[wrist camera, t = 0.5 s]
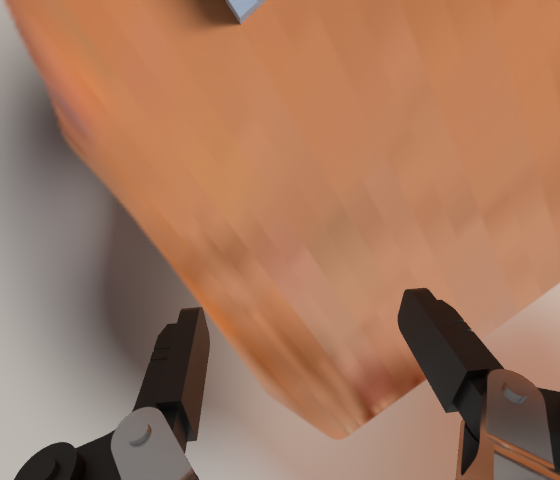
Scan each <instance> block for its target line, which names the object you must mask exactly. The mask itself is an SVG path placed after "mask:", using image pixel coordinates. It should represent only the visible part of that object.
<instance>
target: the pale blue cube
mask: <svg viewBox="0 0 560 480" xmlns="http://www.w3.org/2000/svg"><path fill="white" fill-rule="evenodd" d="M225 1H226V3H227V4H228V6H229V8H230V9H231V11H232V12H233V14H234V15H235V17H236V18H237V20H238V21H239V23H240V24H242V23H243V22H244V21H245V20H246V19H247V18H248V17H249V16H250V15H251V14H252V13H253V12H254V11H255V10H256V9H257V8H258V7H260V6H261V5H262V4H263V3H264V2H265V1H266V0H225Z"/></svg>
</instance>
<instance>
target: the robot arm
mask: <svg viewBox="0 0 560 480" xmlns="http://www.w3.org/2000/svg"><path fill="white" fill-rule="evenodd" d="M398 326H399V329H400V331H401V333H402V335H403V337H404V339H405V341H406V342H407V344H408V346H409V348H410V349H411V351H412V353H413V355H414V357H415V358H416V360H417V362H418V364H419V366H420V367H421V369H422V371H423V373H424V374H425V376H426V378H427V380H428V382H429V383H430V385H431V387H432V389H433V391H434V392H435V394H436V396H437V398H438V399H439V401H440V403H441V405H442V407H443V408H444V410H445V412H446V413H449V412H457V411H459V413H460V414H461V416H462V418H463V420H462V421H461V427H460V439H459V449H458V460H457V470H456V479H455V480H560V392H557V391H552V390H547V389H541V388H537V387H536V386H535V385H534V384H533V383H532V382H530V381H529V380H528V379H526V378H525V377H523V376H522V375H520V374H518V373H516V372H513V371H509V370H506V369H504V368H503V367H502V365H501V364H500V363H499V362H498V361H497V359H496V358H495V357H494V356H493V355H492V353H491V352H490V351H489V350H488V349H487V348H486V346H485V345H484V344H483V343H482V341H481V340H480V339H479V338H478V337H477V335H476V334H475V333H474V332H472V331H471V328H470V327H469V326H468V325H467V323H466V322H464V320H463V318H462V317H461V316H460V315H459V314H458V312H457V311H456V310H455V309H454V308H453V307H451V306H450V305H448V304H447V303H445V302H444V301H443V300H436V298H435V297H434V296H433V294H432V293H431V292H430V291H429V290H428V289H427V288H417V289H407V290H405V291H404V294H403V298H402V302H401V306H400V310H399V313H398ZM209 348H210V340H209V332H208V328H207V324H206V320H205V315H204V311H203V308H202V307H197V308H185V309H181V311H180V314H179V318H178V322H177V323H175V324H167V325H166V327H165V328H164V329H163V330H162V332H161V333H160V334H159V335H158V338H157V341H156V344H155V347H154V352H153V353H152V356H151V359H150V363H149V365H148V368H147V371H146V374H145V377H144V380H143V383H142V386H141V389H140V392H139V395H138V398H137V401H136V404H135V406H134V409H133V411H132V413H130V414H129V415H128V416H126V417H125V418H124V419H123V420H122V421H121V423H120V424H119V425H118V427H117V428H116V429H115V430H114V431H112V432H111V433H109V434H107V435H105V436H103V437H101V438H98V439H96V440H94V441H91V442H89V443H87V444H85V445H82V446H80V447H78V448H74V447H73V446H72V445H71V444H69V443H66V442H59V443H55V444H52V445H49V446H47V447H45V448H43V449H42V450H40V451H39V452H37V453H36V454H35V455H34V456H32V457H31V458H30V459H29V460H28V461H27V462H26V463H25V464H24V466H23V467H22V468H21V469H20V471H19V472H18V474H17V475H16V477H15V479H14V480H199V478H198V476H197V475H196V474H195V472H194V470H193V469H192V467H191V465H190V463H189V461H188V459H187V458H186V456H185V450H186V444H187V442H188V441H196V440H197V435H198V428H199V421H200V414H201V406H202V399H203V392H204V384H205V378H206V370H207V363H208V356H209Z"/></svg>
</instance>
